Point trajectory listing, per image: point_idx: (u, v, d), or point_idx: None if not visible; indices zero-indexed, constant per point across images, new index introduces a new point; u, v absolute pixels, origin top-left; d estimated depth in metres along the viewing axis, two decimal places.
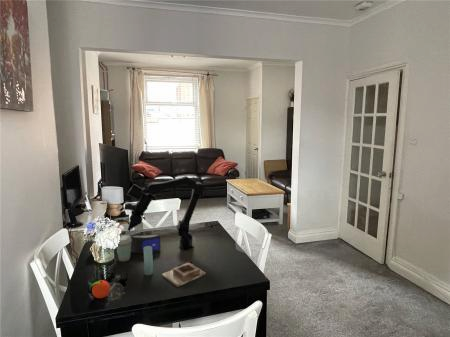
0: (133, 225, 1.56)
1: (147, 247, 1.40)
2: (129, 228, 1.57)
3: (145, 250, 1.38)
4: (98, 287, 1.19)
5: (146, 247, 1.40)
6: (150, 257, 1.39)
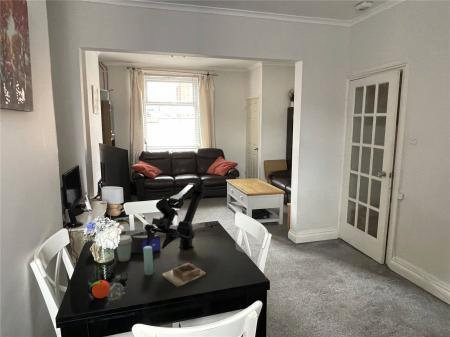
0: (168, 242, 1.45)
1: (147, 247, 1.40)
2: (164, 246, 1.43)
3: (145, 250, 1.38)
4: (98, 287, 1.19)
5: (146, 247, 1.40)
6: (150, 257, 1.39)
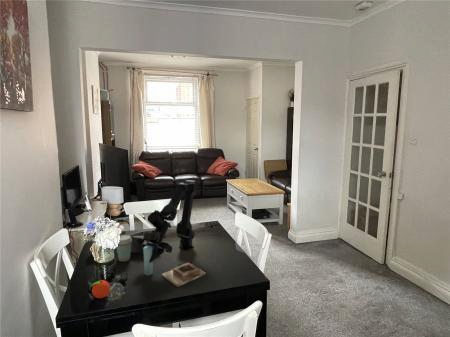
0: (156, 255, 1.41)
1: (147, 247, 1.40)
2: (152, 259, 1.39)
3: (145, 250, 1.38)
4: (98, 287, 1.19)
5: (146, 247, 1.40)
6: (150, 257, 1.39)
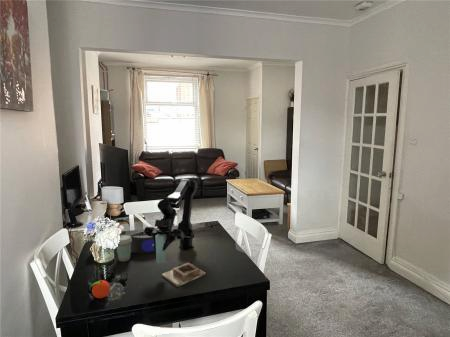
0: (168, 243, 1.38)
1: (159, 235, 1.37)
2: (165, 247, 1.36)
3: (158, 238, 1.35)
4: (98, 287, 1.19)
5: (158, 235, 1.36)
6: (163, 245, 1.36)
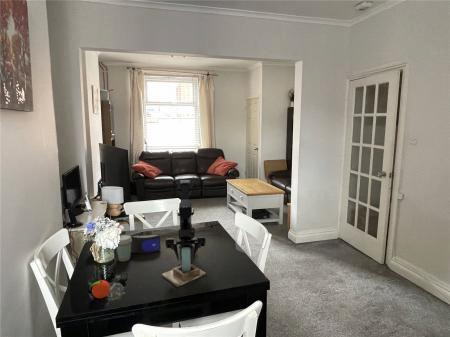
0: (196, 251, 1.39)
1: (185, 248, 1.36)
2: (194, 256, 1.37)
3: (186, 252, 1.34)
4: (98, 287, 1.19)
5: (184, 249, 1.36)
6: None
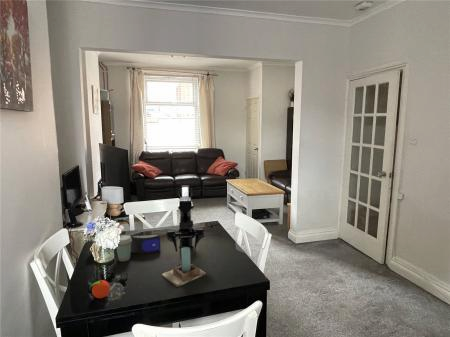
0: (197, 242, 1.48)
1: (185, 248, 1.37)
2: (196, 247, 1.46)
3: (186, 251, 1.35)
4: (98, 287, 1.19)
5: (184, 248, 1.36)
6: None
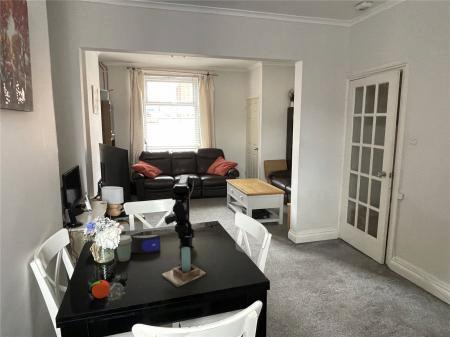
0: (183, 235, 1.45)
1: (185, 248, 1.37)
2: (181, 239, 1.46)
3: (186, 251, 1.35)
4: (98, 287, 1.19)
5: (184, 248, 1.36)
6: None
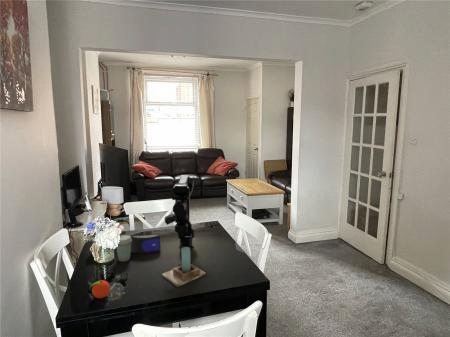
0: (183, 235, 1.45)
1: (185, 248, 1.37)
2: (181, 239, 1.46)
3: (186, 251, 1.35)
4: (98, 287, 1.19)
5: (184, 248, 1.36)
6: None
